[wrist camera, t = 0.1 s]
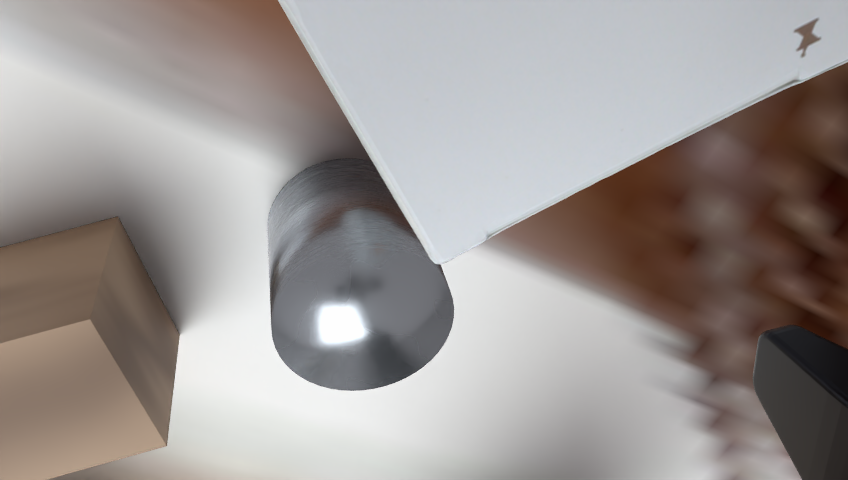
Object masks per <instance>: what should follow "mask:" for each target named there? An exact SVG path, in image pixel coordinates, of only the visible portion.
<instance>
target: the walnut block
mask: <svg viewBox="0 0 848 480" xmlns="http://www.w3.org/2000/svg"><path fill="white" fill-rule="evenodd" d="M179 336H180V335H179V333H178V331H177V329H176V327H175V325H174V323H173V321H172V319H171V317H170V316H169V314H168V312H167V310H166V308H165V306H164V304H163V302H162V300H161V298H160V296H159V294H158V292H157V291H156V289H155V287H154V285H153V283H152V281H151V279H150V277H149V275H148V273H147V271H146V269H145V268H144V266H143V264H142V262H141V260H140V258H139V256H138V254H137V252H136V250H135V248H134V246H133V244H132V243H131V241H130V239H129V237H128V235H127V233H126V231H125V229H124V227H123V225H122V223H121V221H120V220H119V218H118V217H114V218H110V219H106V220H103V221H99V222H95V223H91V224H87V225H84V226H80V227H76V228H72V229H69V230H65V231H61V232H57V233H53V234H50V235H46V236H42V237H38V238H34V239H31V240H27V241H23V242H19V243H16V244H12V245H8V246H4V247H0V480H48V479H51V478H55V477H58V476H62V475H65V474H69V473H72V472H76V471H80V470H83V469H87V468H90V467H94V466H97V465H101V464H104V463H108V462H112V461H115V460H119V459H122V458H126V457H129V456H133V455H136V454H140V453H144V452H147V451H151V450H154V449H158V448H161V447H165V446H167V440H168V431H169V422H170V414H171V405H172V396H173V388H174V379H175V370H176V362H177V353H178V345H179Z"/></svg>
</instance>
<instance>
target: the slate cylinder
mask: <svg viewBox="0 0 848 480" xmlns="http://www.w3.org/2000/svg"><path fill="white" fill-rule="evenodd" d="M268 253H269V278H270V303H271V328H272V337H273V341H274V345H275V348H276V350H277V352H278V354H279V356H280V357H281V359H282V360H283V361H284V363H285V364H286V365H287V366H288V367H289V368H290V369H291V370H292V371H293V372H295V373H296V374H298V375H299V376H300V377H302V378H304V379H306V380H307V381H309V382H312V383H314V384H317V385H319V386H323V387H327V388H331V389H337V390H350V391H354V390H367V389H374V388H378V387H383V386H386V385H389V384H392V383H395V382H398V381H400V380H402V379H404V378H406V377H408V376H410V375H412V374H413V373H415V372H417V371H418V370H419V369H421V368H422V367H424V366H425V365H426V364H427V363H428V362H429V361H430V360H432V358H433V357H434V356H435V355H436V354H437V353H438V352H439V350H440V349H441V348H442V346H443V345H444V343H445V341H446V339H447V337H448V336H449V333H450V330H451V327H452V323H453V318H454V305H453V299H452V295H451V292H450V289H449V287H448V284H447V281H446V278H445V276H444V273H443V270H442V267H441V265H440V264H435V263H434V262H433V261H432V260H431V259H430V257H429V256H428V254H427V252H426V251H425V249H424V247H423V246H422V244H421V242H420V240H419V239H418V237H417V236H416V234H415V232H414V231H413V229H412V227H411V226H410V224H409V222H408V221H407V219H406V217H405V216H404V214H403V212H402V211H401V209H400V207H399V206H398V204H397V202H396V201H395V199H394V197H393V196H392V194H391V192H390V190H389V189H388V187H387V185H386V184H385V182H384V180H383V179H382V177H381V175H380V173H379V172H378V170H377V168H376V167H375V165H374V163H373V162H371V161H367V160H361V159H336V160H331V161H326V162H323V163H320V164H317V165H314V166H312V167H310V168H308V169H306V170H304V171H302V172H301V173H299V174H297V175H296V176H295V177H294V178H292V179H291V180H290V181H289V182H288V183H287V184H286V185H285V186H284V187H283V188H282V189H281V191H280V192H279V194H278V195H277V197H276V198H275V200H274V202H273V204H272V207H271V210H270V213H269V218H268Z"/></svg>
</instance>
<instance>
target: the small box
mask: <svg viewBox="0 0 848 480" xmlns="http://www.w3.org/2000/svg"><path fill="white" fill-rule="evenodd" d="M278 1H279V3H280V4H281V6H282V8H283V10H284V11H285V13H286V15H287V17H288V18H289V20H290V22H291V23H292V25H293V27H294V29H295V30H296V32H297V34H298V35H299V37H300V39H301V41H302V42H303V44H304V46H305V47H306V49H307V51H308V53H309V54H310V56H311V58H312V59H313V61H314V63H315V65H316V66H317V68H318V70H319V71H320V73H321V75H322V77H323V78H324V80H325V82H326V83H327V85H328V87H329V89H330V90H331V92H332V94H333V95H334V97H335V99H336V100H337V102H338V104H339V106H340V107H341V109H342V111H343V112H344V114H345V116H346V117H347V119H348V121H349V123H350V124H351V126H352V128H353V129H354V131H355V133H356V134H357V136H358V138H359V140H360V141H361V143H362V145H363V146H364V148H365V150H366V151H367V153H368V155H369V157H370V158H371V160H372V162H373V163H374V165H375V167H376V168H377V170H378V172H379V173H380V175H381V177H382V179H383V180H384V182H385V184H386V185H387V187H388V189H389V190H390V192H391V194H392V196H393V197H394V199H395V201H396V202H397V204H398V206H399V207H400V209H401V211H402V212H403V214H404V216H405V217H406V219H407V221H408V222H409V224H410V226H411V227H412V229H413V231H414V232H415V234H416V236H417V237H418V239H419V240H420V242H421V244H422V246H423V247H424V249H425V251H426V252H427V254H428V256H429V257H430V259H431V260H432V261H433V262H434V263H435V264H444V263H446V262H448V261H450V260H452V259H454V258H455V257H457V256H459V255H460V254H462V253H464V252H466V251H468V250H470V249H472V248H474V247H476V246H478V245H480V244H481V243H482V242H484V241H485V240H487V239H489V238H491V237H492V236H494V235H496V234H498V233H499V232H501V231H503V230H505V229H507V228H509V227H510V226H512V225H514V224H516V223H518V222H520V221H522V220H524V219H526V218H528V217H530V216H532V215H534V214H536V213H538V212H540V211H542V210H543V209H545V208H547V207H549V206H551V205H553V204H555V203H557V202H559V201H561V200H563V199H565V198H567V197H569V196H571V195H573V194H574V193H576V192H578V191H580V190H582V189H584V188H586V187H588V186H590V185H592V184H594V183H596V182H598V181H600V180H602V179H604V178H606V177H609V176H611V175H613V174H614V173H616V172H618V171H620V170H622V169H624V168H626V167H628V166H630V165H632V164H634V163H636V162H638V161H640V160H642V159H644V158H646V157H648V156H650V155H652V154H654V153H656V152H657V151H659V150H661V149H663V148H665V147H668V146H670V145H672V144H674V143H676V142H678V141H680V140H682V139H684V138H686V137H688V136H690V135H692V134H694V133H696V132H698V131H700V130H702V129H704V128H706V127H708V126H710V125H712V124H714V123H716V122H718V121H720V120H722V119H724V118H726V117H728V116H730V115H732V114H734V113H736V112H738V111H740V110H742V109H744V108H746V107H748V106H751V105H753V104H755V103H757V102H759V101H761V100H763V99H765V98H767V97H770V96H772V95H774V94H776V93H778V92H780V91H782V90H784V89H787V88H789V87H791V86H794V85H796V84H799V83H802V82H804V81H806V80H809V79H811V78H813V77H815V76H817V75H819V74H821V73H823V72H826V71H828V70H830V69H833V68H835V67H837V66H840V65H842V64H844V63H847V62H848V0H278Z"/></svg>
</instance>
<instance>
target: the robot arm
mask: <svg viewBox="0 0 848 480" xmlns="http://www.w3.org/2000/svg"><path fill="white" fill-rule="evenodd" d="M753 384H754V389H755V392H756V394H757V396H758V399H759V400H760V402H761V404H762V406H763V408H764V410H765V412H766V413H767V415H768V417H769V419H770V421H771V423H772V425H773V426H774V428H775V430H776V432H777V434H778V436H779V438H780V439H781V441H782V443H783V445H784V447H785V449H786V451H787V452H788V454H789V456H790V458H791V460H792V462H793V464H794V465H795V467H796V469H797V471H798V473H799V475H800V476H801V478H802V480H848V349H846V348H844V347H842V346H840V345H838V344H836V343H834V342H831V341H829V340H827V339H825V338H823V337H821V336H819V335H817V334H815V333H813V332H810V331H808V330H806V329H804V328H802V327H799V326H796V325H787V326H783V327H779V328H775V329H771V330H767V331H765V332H763V333H762V334H761V335H760V337H759V340H758V345H757V352H756V359H755V366H754V373H753Z"/></svg>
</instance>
